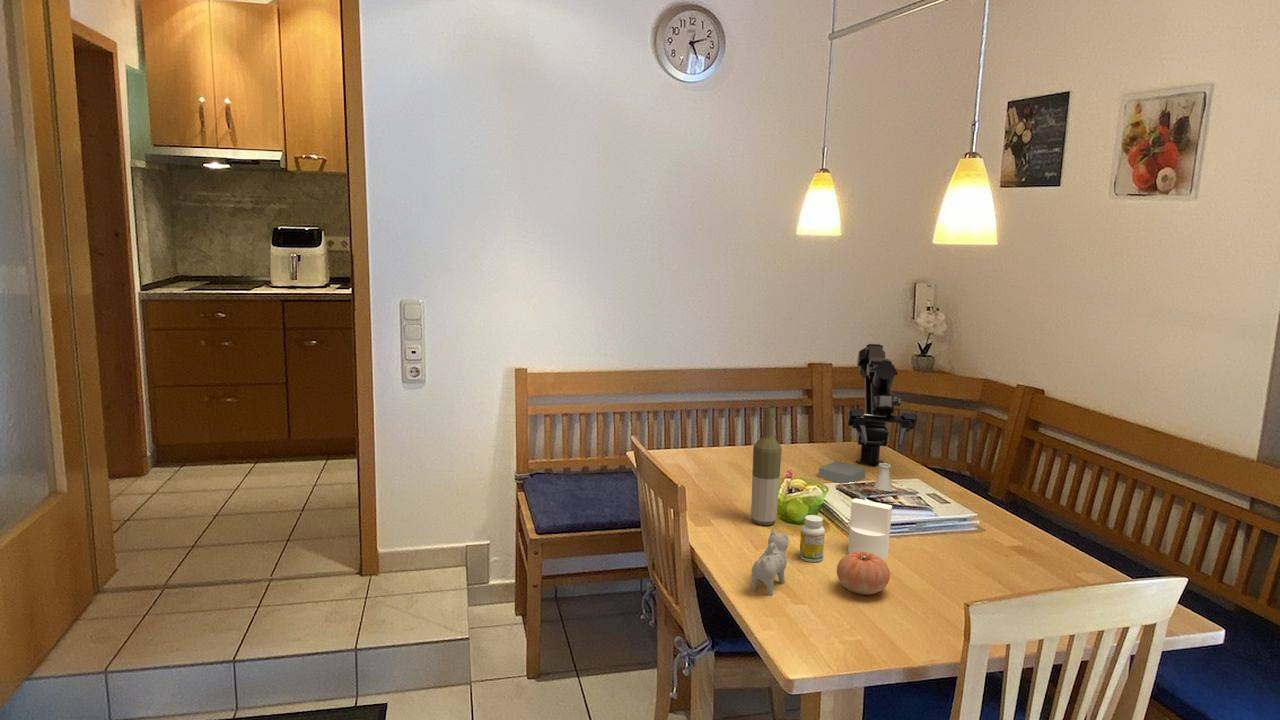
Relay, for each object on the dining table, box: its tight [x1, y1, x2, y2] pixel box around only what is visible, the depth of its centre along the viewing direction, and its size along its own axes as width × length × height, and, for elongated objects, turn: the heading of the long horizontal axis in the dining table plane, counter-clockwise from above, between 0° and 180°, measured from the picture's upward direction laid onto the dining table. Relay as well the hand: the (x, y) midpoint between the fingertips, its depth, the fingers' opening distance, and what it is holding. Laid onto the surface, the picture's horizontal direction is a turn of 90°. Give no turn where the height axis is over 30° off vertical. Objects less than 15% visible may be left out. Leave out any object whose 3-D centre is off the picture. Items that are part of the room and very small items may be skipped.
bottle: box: [750, 405, 782, 526], centre depth 211 cm, size 7×7×30 cm
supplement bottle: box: [799, 514, 826, 563], centre depth 191 cm, size 5×5×10 cm
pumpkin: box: [836, 552, 891, 595], centre depth 176 cm, size 11×11×8 cm
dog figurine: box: [750, 529, 789, 596], centre depth 178 cm, size 5×13×11 cm, turn 151°
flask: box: [873, 462, 893, 491], centre depth 232 cm, size 7×7×10 cm
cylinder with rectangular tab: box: [847, 497, 893, 560], centre depth 195 cm, size 9×9×12 cm
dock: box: [818, 460, 867, 484], centre depth 250 cm, size 10×10×3 cm
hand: (882, 445), depth 238 cm, fingers open, 9 cm apart
